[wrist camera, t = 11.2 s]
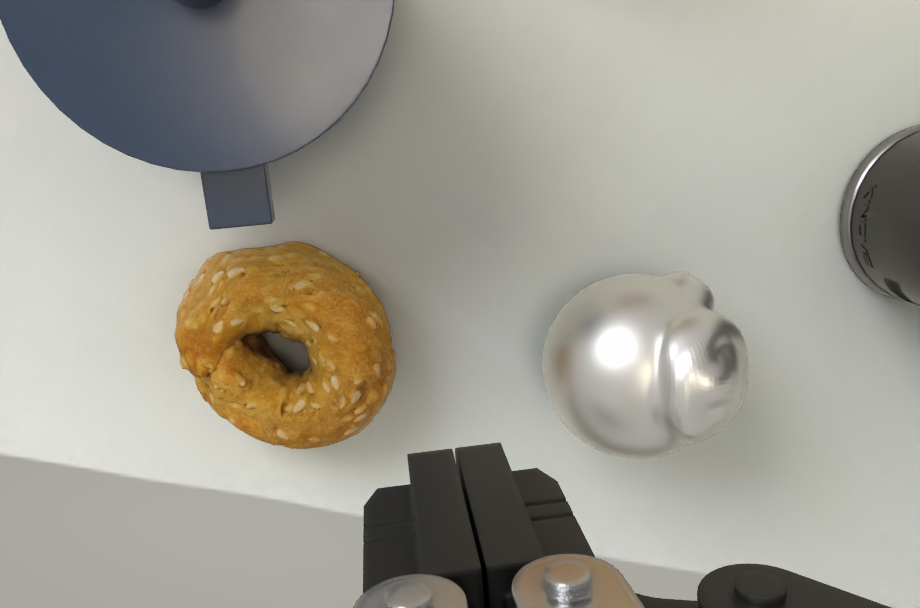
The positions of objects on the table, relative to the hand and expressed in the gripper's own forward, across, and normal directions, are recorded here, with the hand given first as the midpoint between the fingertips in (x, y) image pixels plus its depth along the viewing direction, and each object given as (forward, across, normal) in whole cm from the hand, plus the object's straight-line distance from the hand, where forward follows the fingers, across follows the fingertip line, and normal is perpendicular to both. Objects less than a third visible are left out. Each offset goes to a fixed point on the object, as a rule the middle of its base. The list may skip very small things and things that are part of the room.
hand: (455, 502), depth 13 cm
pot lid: (+20, +6, -11) cm, 23 cm away
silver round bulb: (+29, -11, +7) cm, 32 cm away
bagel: (+29, +6, +5) cm, 30 cm away
